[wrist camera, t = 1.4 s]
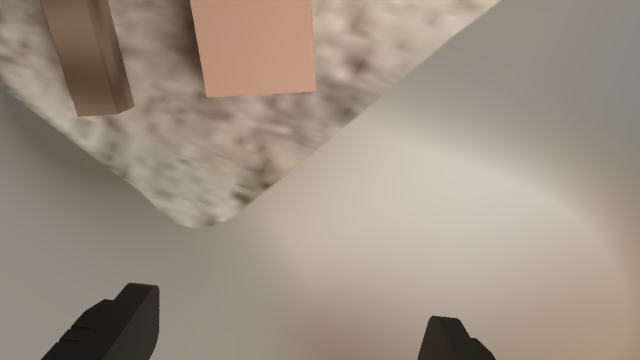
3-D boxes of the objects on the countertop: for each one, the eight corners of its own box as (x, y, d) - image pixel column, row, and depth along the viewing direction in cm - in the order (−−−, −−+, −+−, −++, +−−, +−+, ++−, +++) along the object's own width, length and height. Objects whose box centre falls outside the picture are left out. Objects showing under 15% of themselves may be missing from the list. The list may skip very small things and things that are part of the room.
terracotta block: (203, -21, 27) (184, -29, 23) (308, -26, 27) (309, -35, 23) (220, 87, 30) (206, 97, 26) (314, 82, 30) (316, 91, 26)
